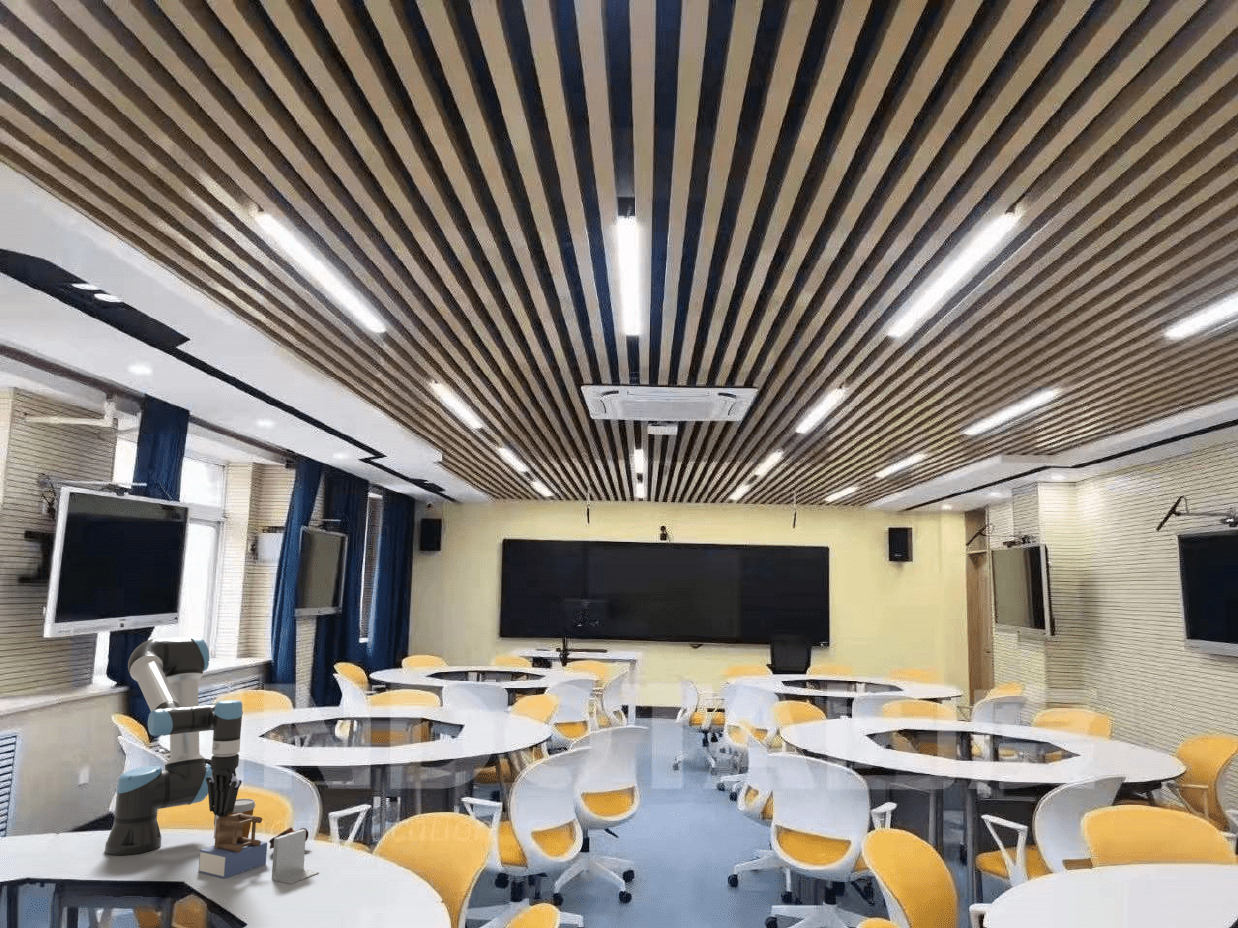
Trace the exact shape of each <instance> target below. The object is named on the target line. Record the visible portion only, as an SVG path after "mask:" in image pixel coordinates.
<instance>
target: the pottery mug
mask: <svg viewBox="0 0 1238 928" xmlns="http://www.w3.org/2000/svg"><path fill="white" fill-rule="evenodd" d="M301 829H304V830H306V839H305V843H306V842H307V840H308V838H309V831H308V828H305V827H302V828H300V829H298V830H301ZM295 831H296V830H294V829H293V827H288V828H287V829H285V830H284V831H282V832H280V833H279V834H278V835H276V836H274V837H273V838H271V839H269V841H268V842H269V843H270V845H269V849H270V850H271V849H274V838H276V837H279V836H283V835H286V834H289V833H292V832H295Z"/></svg>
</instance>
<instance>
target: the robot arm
mask: <svg viewBox="0 0 1238 928" xmlns="http://www.w3.org/2000/svg"><path fill="white" fill-rule="evenodd" d="M127 662H128V663H127V668H128V673H129V676H130V677H131V679H132V680H134V681H136V682H137V684H138V686H139V688H140V690H141V692H142V694H143V695H142V696H143V697H144V699H145V701H146V705H147V706H148V708H149V710H150V713H149V714H148V719H147V727H148V729H147V730H148V733H149V735H151V736H154V737H156V736H163V737H164V736H169V753H170V754H169V759H168V760H167V761H166V762H165V763H164V769H162V767H161V766H160V765H151V766H148V765H147V766H142V767H141V766H140V767H138V768H133V769H131V770H130V769H129V770H128V771H125V772H124V773H123V774H121V775H120V776H119V778H118V781H117V786H116V790H115V792H116V798H115V799H116V800H115V807H114V809H115V810H114V819H113V825H112V828H111V830H110V832H109V835H108V838H107V840H106V841H105V846H104V852H105V854H108V855H113V856H127V855H136V854H141V853H146V852H150V851H153V850H156V849H158V848H159V847H161V845H162V835H161V829H160V827H159V822H158V811H159V810H162V809H166V808H174V807H179V806H186V805H187V806H188V805H189V806H190V805H192V804H196V803H197V804H198V803H202V801H204V800H205V799H206V798H207V796H208V806H209V807H208V808H209V809H208V810H209V812H211V813H213V815H214V818H213V819H214V820H213V824H214V825H213V826H214V828H213V829H214V831H213V839H214V840H215V833H216V819H218V818H222V817H226V816H227V815H228V814H229V813H231V812H233V810H234V806H235V802H236V799H237V796H238V794H239V793H238V792H239V788H240V786H241V785H242V780H241V779H237V774H236V769H237V768H238V767H239V761H240V755H239V752H240V751H241V748H240V747H241V732H242V724H243V723H242V722H243V721H242V719H243V713H244V712H243V702H242V701H241V700H238V699H228V700H227V699H226V700H218V701H217V702H216V703H214V702H213V703H208V704H205V705H199V681H200V679H201V678H202V677H203V676H204V672H205V671H207V670H208V668H209V666H210V665H209V664H210V663H209V662H210V651H209V647H208V645H207V643H206V641H205V640H204V639H203V638H202V637H201V638H200V637H191V636H186V637H168V638H167V637H165V638H159V637H158V638H152V639H149V640H146V641H144V642H142V643H141V644H139V645H138V646H137V647H136V648H135V649H134V650H133V651H132V653H131V654H130V656H129V659H128V661H127ZM208 731H212V732H213V733H212V748H211V749H212V750H211V754H212V755H211V758H210V764H209V763H206V762H205V761H206V759H205V757H204V756H203V755H201V754H200V732H208Z"/></svg>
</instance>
